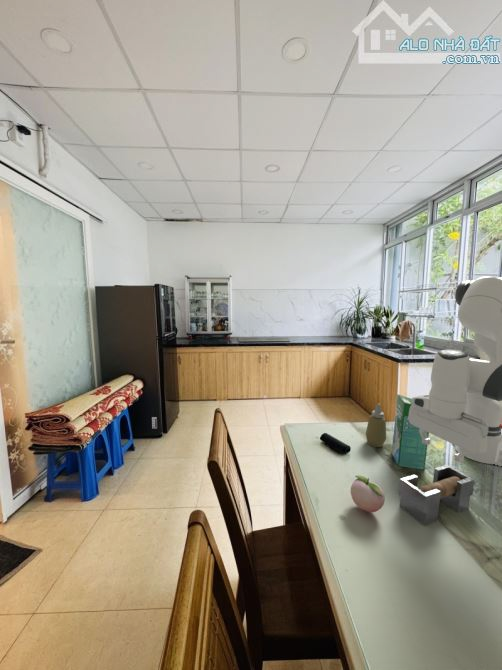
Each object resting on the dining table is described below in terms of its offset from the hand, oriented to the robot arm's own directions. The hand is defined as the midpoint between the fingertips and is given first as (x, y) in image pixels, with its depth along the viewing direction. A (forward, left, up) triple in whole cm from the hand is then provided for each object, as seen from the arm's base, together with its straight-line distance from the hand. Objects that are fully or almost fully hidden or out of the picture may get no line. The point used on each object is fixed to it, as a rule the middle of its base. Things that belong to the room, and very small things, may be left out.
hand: (441, 451), depth 80 cm
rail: (0, +2, -13) cm, 13 cm away
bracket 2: (-7, 0, -18) cm, 19 cm away
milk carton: (-14, -20, -18) cm, 30 cm away
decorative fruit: (+21, -6, -18) cm, 28 cm away
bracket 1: (+7, 0, -18) cm, 19 cm away
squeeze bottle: (-12, -34, -18) cm, 40 cm away
